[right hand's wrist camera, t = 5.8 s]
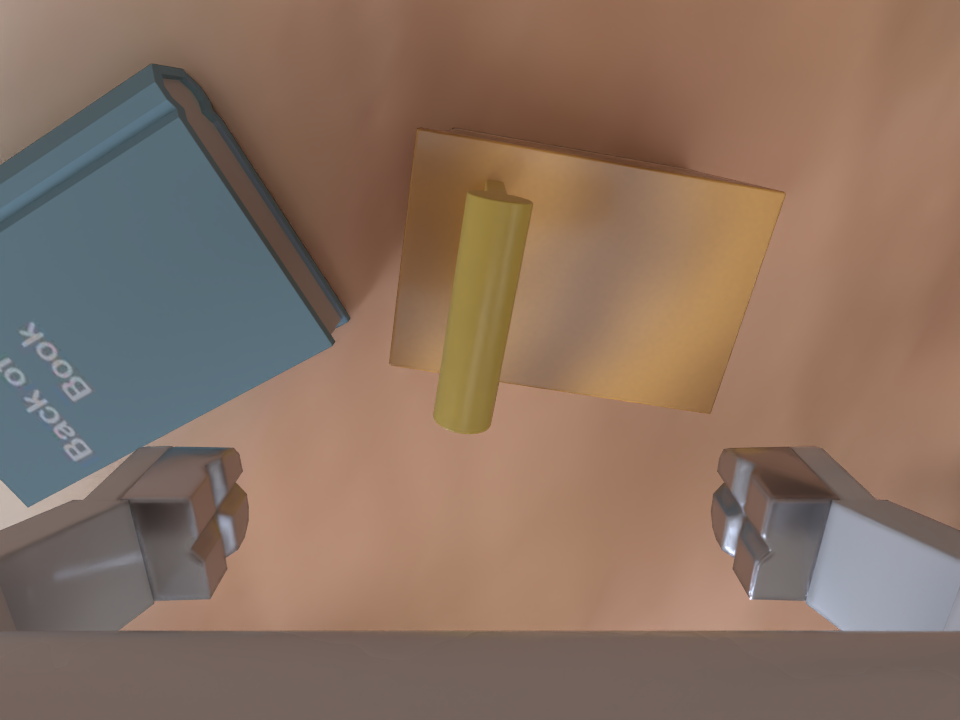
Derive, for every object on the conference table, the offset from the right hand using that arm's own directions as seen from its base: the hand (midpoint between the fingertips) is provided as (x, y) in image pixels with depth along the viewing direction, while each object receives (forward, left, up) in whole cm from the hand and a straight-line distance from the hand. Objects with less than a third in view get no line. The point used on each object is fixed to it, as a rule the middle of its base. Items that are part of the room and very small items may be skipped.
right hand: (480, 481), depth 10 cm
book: (-22, 0, -28) cm, 36 cm away
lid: (+4, -1, -17) cm, 17 cm away
